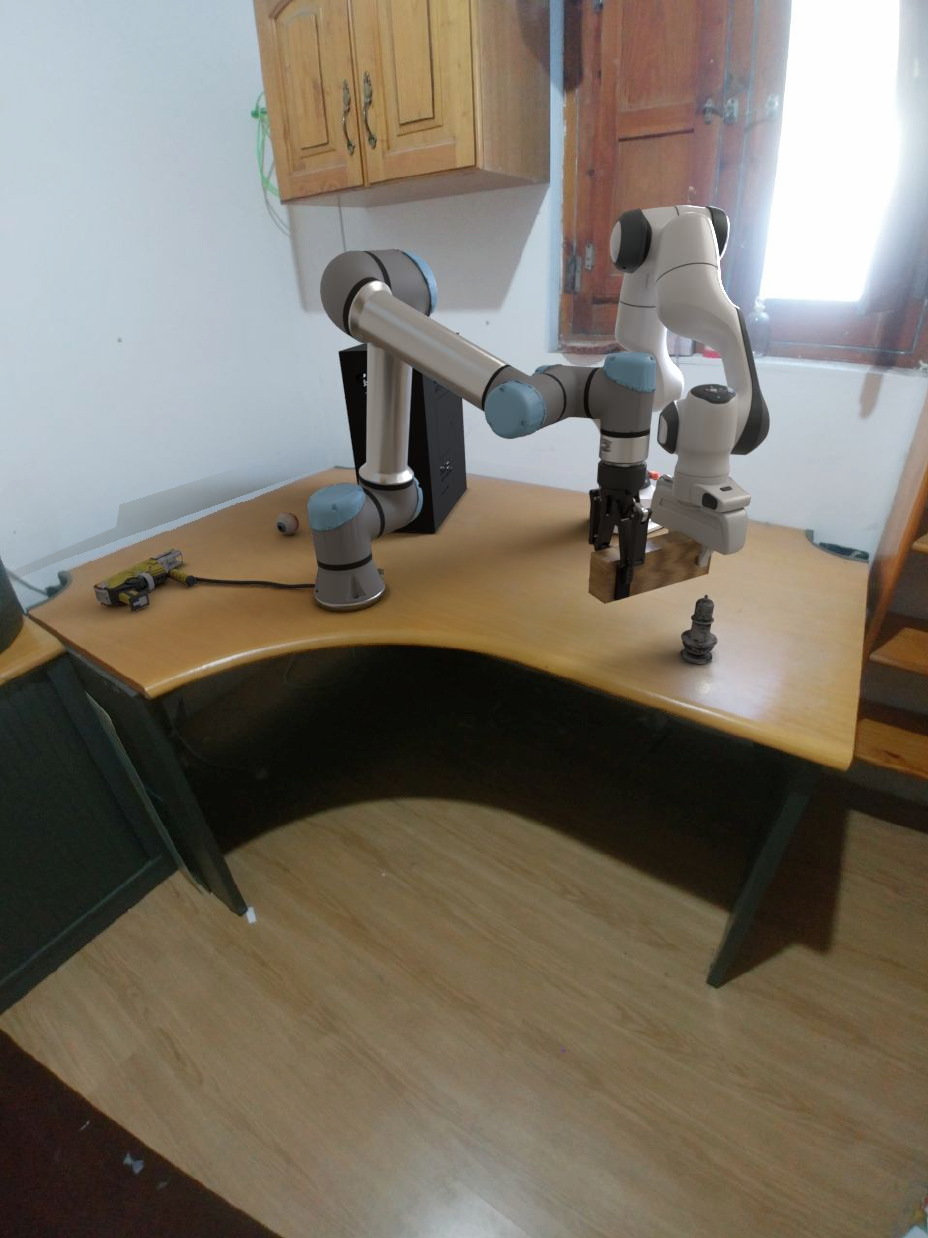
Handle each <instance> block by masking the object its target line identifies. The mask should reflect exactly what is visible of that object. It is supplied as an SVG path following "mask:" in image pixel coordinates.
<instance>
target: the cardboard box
mask: <svg viewBox="0 0 928 1238" xmlns="http://www.w3.org/2000/svg"><path fill="white" fill-rule="evenodd" d="M456 333H457V334H458V335H460V332H456ZM367 349H368V343H360V344H358V345H354V346H351V347H348V348H345V349H341V350H339V351H338V359H339V366H340V373H341V378H342V379H341V381H342V387H343V395H344V402H345V407H346V409H345V410H346V414H347V415H346V417H347V420H348V421H347V422H348V428H349V437H350V441H351V442H350V443H351V450H352V456H353V463H354V471H355V479H356V484H357V485H359V469H360V468H361V466H363V465H364V464H365V463H366V452H367ZM463 402H464V401H463V398H461V397H459V396H458V395H456V394H455V393H453V392H451V391H450V390H448V389H446V388H445V387H443V386H442V385H440V384H438V383H437V382H435V381H434V380H432V379H430V378H429V377H427V376H426V375H424V374H422V373H421V372H419V371H418V370H416V369H414V368H413V367H412V383H411V402H410V421H409V440H408V459H407V465H408V466H409V467H410V468H411V469H412V471H413V473H414V477H415V478H416V479H417V481H418V483H419V485H418V486H419V488H421V490H422V495H423V503H422V508H421V511H420V513H419V514H418V516H417V517H416V518H415V519H414V520H413V521H411V522H409V523H408V524H407V525H405V526H404V527H402V528H399V529H396V530H394V531H393V532H394V533H395V532H397V533H423V534H425V533H426V534H436V533H437V531H438V530H439V529H440V527H441V526H442V525H443V523H444V522H445V520H446V519H447V517H448V516H449V514H450V512H452V510H453V509H454V507H455V506H456V505H457V503H458V502H459V500H460V499H461V497H462V496H463V495H464V493H465V492H466V491H467V489H468V486H467V485H468V484H467V483H468V482H467V481H468V480H467V466H466V445H465V443H466V442H465V425H464V424H465V423H464V406H463V405H464V404H463Z"/></svg>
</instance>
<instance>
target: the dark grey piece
mask: <svg viewBox="0 0 928 1238" xmlns="http://www.w3.org/2000/svg"><path fill="white" fill-rule="evenodd" d="M714 609H715V602H714V601H713V600H712V599H711V598H709V595H708V594H707V593H706V594H704V596H703V597H701V598H698V599H697V600H696V602H695V606H694V610H693V614H692V615H691V616H690V619H691V621H692V622H691V627H690V629H687V630H685V631H683V632H682V633H681V635H680V638H681V641H682V646H683V647H684V648H682V649H681V651H680V652H679V655H680V657H681V658H682V659H683V660H684V661H686V662H688V663H692V664H695V665H704V664H708V663H711V662H712V660H713V654H712V653H711V652H712V650H713V649H714V648H715V645H716V646H717V644H718V638H717V636H716V635H715V634H714V633H712V632H711V628H712V624H713V623H714V622H715V618H714V617H713V615H714Z"/></svg>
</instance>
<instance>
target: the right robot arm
mask: <svg viewBox="0 0 928 1238" xmlns="http://www.w3.org/2000/svg"><path fill="white" fill-rule="evenodd" d="M729 237H730V220H729V217H728V214H727V213H726V211H725V210H723V209H722V208H719V207H715V206H711V205H706V206H705V207H702V206H697V205H696V206H695V205H683V204H681V205H679V204H678V205H677V204H674V205H671V206H660V207H659V206H658V207H651V208H644V209H641V208H639V207H638V208H634V209H633V208H632V209H630V210H626V211H624V212H622V213H621V214H620V215H619V217H618V218H617V219H616V221H615V223H614V225H613V229H612V232H611V235H610V238H609V239H610V240H609V253H610V260H611V263H612V265H613V266H614V267H615V269H616V270H617V271H619V272H622V273H624V274H623V279H622V283H621V287H620V292H619V299H618V306H617V314H616V321H615V326H614V327H615V328H614V337H615V341H616V342H617V343H618V345H619V346H620V347H622V349H625V350H626V351H627V352H643V353H649V354H651V355H653V356H654V357H655V359H656V382H655V384H656V390H655V394H654V402H653V410H652V414H653V413H658V412H660V413H659V417H658V424H657V435H656V442H657V444H658V445H659V446H660V447H661V448H662V449H663V450H664V451H665V452H666V453H668V454H670V455H676V456H677V459H676V463H675V466H674V470H673V476H671V475H669V474H665V473H664V474H663V475H661V476H660V473H659V472H657V471H654V470H651V471H649V470H648V469H646V479H645V484H644V485H643V486H642V488H641V489H640V491H639V495H640V504H641V505H642V506H643V507H644V508H645V509H646V508H651V509H652V515H651V518H650V520H649V523H648V532H647V534H650V533H652V532H654V531H657V530H660V529H662V528H664V529H666V530H667V533H670V532H674V531H676V532H678V533H680V534H682V535H685V536H687V537H689V538H691V539H693V540H694V541H695V542H697V543H699V544H701V550H703V552H702V553H701V555H698V556H695V565H697V566H699V567H705V566H707V564H708V558H709V557H710V556H711V554H712V555H713V554H714V552H716V553H718V554H720V555H723V556H730V555H732V554H736V553H739V552H740V551H742V549H743V548H744V546H745V543H746V539H747V534H748V527H749V514H748V511H747V509H746V507H748V506H750V505H751V502H752V501H751V500H752V496H751V493H749V492H748V491H747V490H745V488H743V487H742V486H741V485H740V484H738V482H736V481H735V480H734V479H733V478H732V477H731V476H730V472H731V471H730V470H731V465H730V456H731V455H732V456H747V455H749V454H751V453H752V452H753V451H755V450H756V449H757V448H758V447H759V446H760V445H761V444H763V443H764V441H765V440H766V439H767V437H768V435H769V431H770V426H771V425H770V423H771V418H770V417H771V416H770V412H769V407H768V405H767V403H766V400H765V397H764V395H763V393H762V389H761V385H760V382H759V375H758V372H757V367H756V363H755V358H754V354H753V348H752V343H751V338H750V334H749V331H748V326H747V322H746V319H745V316H744V313H743V311H742V309H741V307H739V306H737V305H736V304H734V303H733V302H732V301H731V299H730V298H729V297H728V295H727V293H726V291H725V290H724V287H723V284H722V279H721V266H720V265H721V264H720V260H721V259H722V258H723V256H724V255H725V252H726V249H727V246H728V243H729ZM668 331H670V332H671V333H673V334H674V335H677V336H679V337H682V338H685V339H689V340H692V341H695V342H697V343H700V344H703V345H705V346H706V347H709V348H710V349H712V350H713V351H715V352H716V353H717V355H718V356H719V357H720V359H721V362H722V367H723V372H724V375H725V381H726V385H724V384H719V383H704V384H698V385H696V386H693V387H692V388H690V389H689V391H688V392H687V394H686V396H685V397H683V393H684V389H685V379H684V376H683V373H682V371H681V370H680V369H679V368H678V366H676V365H675V364H674V363H673V361H672V360H671V358H670V356H669V352H668V347H667V334H668ZM682 397H683V398H682ZM590 420H591V421H592V422H593V424H594V425H595V426H596V428H597V431H598V432H599V433H598V434H600V419H590ZM644 461H645V462H646V463H647V464H648V458H647V459H646V460H644ZM651 480H653V481H656V483H655V486H654V485H652V483H651ZM598 488H601V486H599V485H598ZM627 519H628V518H627ZM623 520H626V519H623ZM613 534H618V527H617V526H616V525H615V528H614V532H613ZM711 557H712V556H711Z"/></svg>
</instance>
